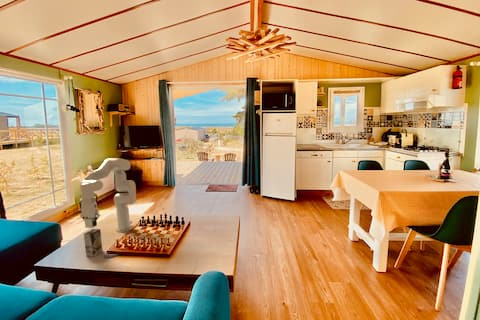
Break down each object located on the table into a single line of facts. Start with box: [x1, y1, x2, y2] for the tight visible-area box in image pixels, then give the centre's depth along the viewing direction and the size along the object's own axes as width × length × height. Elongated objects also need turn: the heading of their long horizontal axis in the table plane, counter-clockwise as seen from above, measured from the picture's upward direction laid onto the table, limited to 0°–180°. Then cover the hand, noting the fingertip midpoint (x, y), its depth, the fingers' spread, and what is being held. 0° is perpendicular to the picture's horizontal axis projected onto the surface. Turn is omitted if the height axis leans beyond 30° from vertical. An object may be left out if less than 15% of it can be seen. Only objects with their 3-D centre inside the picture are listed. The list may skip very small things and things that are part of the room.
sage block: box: [84, 217, 95, 229], centre depth 189 cm, size 5×5×6 cm
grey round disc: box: [103, 252, 119, 259], centre depth 189 cm, size 9×9×1 cm
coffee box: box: [83, 228, 103, 257], centre depth 191 cm, size 9×6×16 cm
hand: (91, 225), depth 190 cm, fingers closed on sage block, 5 cm apart
